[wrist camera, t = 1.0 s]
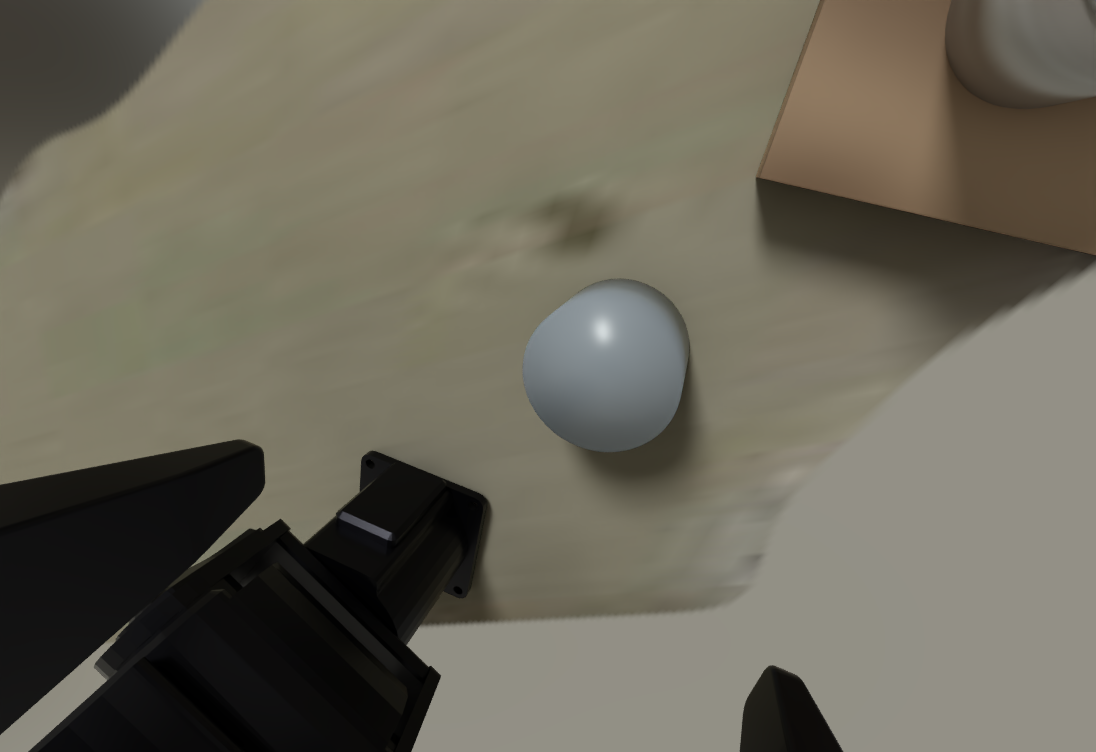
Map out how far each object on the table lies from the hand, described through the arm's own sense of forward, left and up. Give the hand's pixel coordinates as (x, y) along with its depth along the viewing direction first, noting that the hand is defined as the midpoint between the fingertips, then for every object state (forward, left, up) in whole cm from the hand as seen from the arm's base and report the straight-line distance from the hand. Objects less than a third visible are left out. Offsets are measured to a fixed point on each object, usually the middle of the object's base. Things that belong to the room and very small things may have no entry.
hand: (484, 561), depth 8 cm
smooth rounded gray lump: (0, 0, -12) cm, 12 cm away
